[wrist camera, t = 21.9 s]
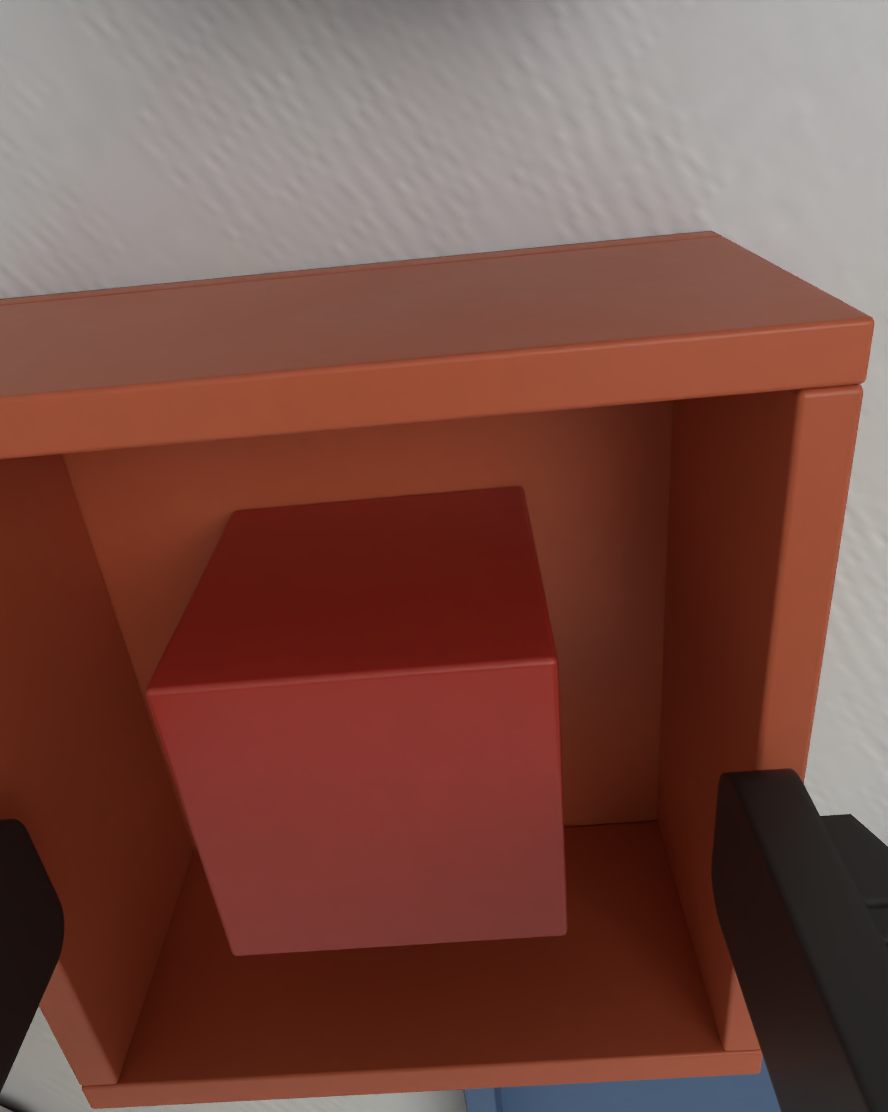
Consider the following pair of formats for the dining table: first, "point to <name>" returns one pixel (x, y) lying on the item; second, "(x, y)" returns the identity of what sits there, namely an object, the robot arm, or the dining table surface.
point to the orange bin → (572, 599)
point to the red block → (371, 725)
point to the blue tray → (634, 1096)
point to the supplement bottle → (4, 1109)
